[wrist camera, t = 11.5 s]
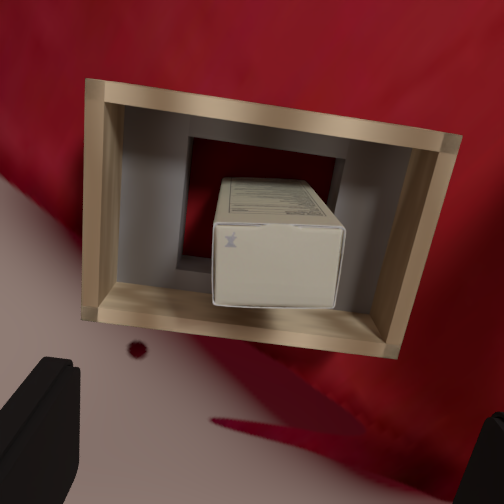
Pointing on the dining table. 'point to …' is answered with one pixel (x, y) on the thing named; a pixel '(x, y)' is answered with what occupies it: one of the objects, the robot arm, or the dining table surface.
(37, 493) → the robot arm
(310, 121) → the insert box
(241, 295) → the skincare box
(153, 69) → the dining table surface
